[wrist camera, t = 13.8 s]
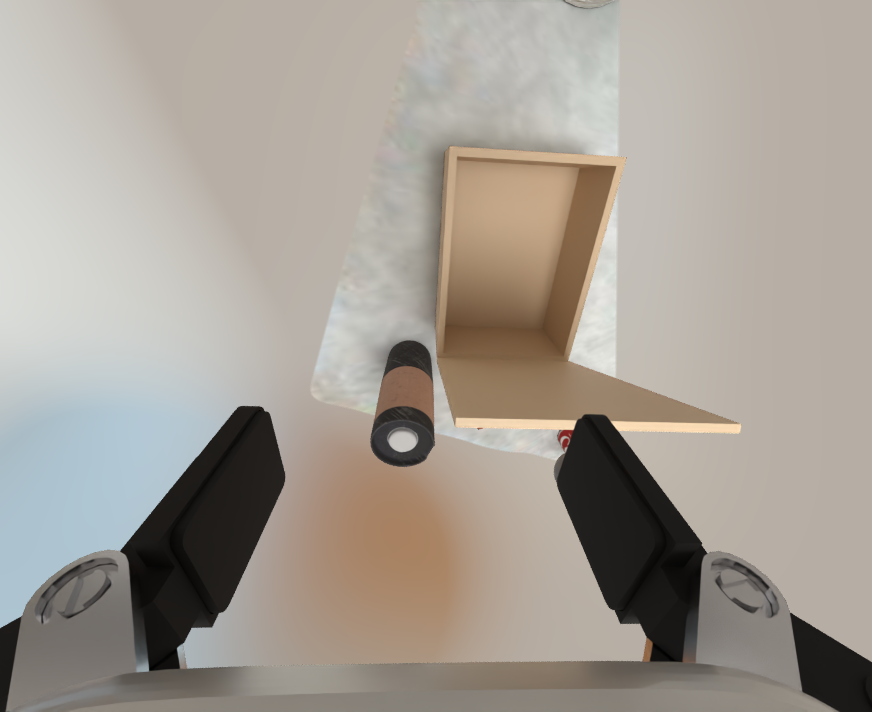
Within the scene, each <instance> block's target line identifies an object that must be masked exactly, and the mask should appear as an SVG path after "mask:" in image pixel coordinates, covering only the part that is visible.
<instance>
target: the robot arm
mask: <svg viewBox="0 0 872 712" xmlns="http://www.w3.org/2000/svg"><path fill="white" fill-rule="evenodd" d="M565 1H566V2H568V3H570V4H572V5H574V6H577V7H583V8H594V7H600V6H603V5H605V4H608V3H611V2H612V1H614V0H565ZM284 482H285V472H284V468H283V464H282V460H281V456H280V452H279V448H278V444H277V440H276V436H275V432H274V429H273V424H272V420H271V416H270V414H269V412H265V411H264V409H263V408H262V407H259V406H240V407H238V408H237V409H236V410H235V411H234V413H233V414H232V415H231V416H230V418H229V419H228V420H227V421H226V423H225V424H224V425H223V426H222V427H221V429H220V430H219V431H218V432H217V434H216V435H215V436H214V437H213V438H212V440H211V441H210V442H209V443H208V445H207V446H206V447H205V448H204V450H203V451H202V452H201V453H200V455H199V456H198V457H197V458H196V459H195V460H194V461H193V462H192V463H191V465H190V466H189V467H188V468H187V470H186V471H185V472H184V473H183V475H182V476H181V477H180V478H179V479H178V481H177V482H176V483H175V484H174V485H173V487H172V488H171V489H170V490H169V492H168V493H167V494H166V495H165V497H164V498H163V499H162V500H161V502H160V503H159V504H158V505H157V506H156V508H155V509H154V510H153V511H152V512H151V514H150V515H149V516H148V517H147V519H146V520H145V521H144V522H143V524H142V525H141V526H140V527H139V529H138V530H137V531H136V532H135V533H134V535H133V536H132V537H131V538H130V540H129V541H128V542H127V543H126V544H125V546H124V547H123V548H122V549H121V551H115V550H105V551H99V552H95V553H92V554H90V555H87V556H84V557H82V558H79V559H78V560H76V561H74V562H72V563H70V564H69V565H67V566H65V567H64V568H62V569H61V570H60V571H58V572H57V573H56V574H54V575H53V576H51V577H50V578H49V579H48V580H47V581H46V582H45V583H44V584H43V585H42V586H41V587H40V588H39V589H38V590H37V591H36V592H35V593H34V595H33V596H32V597H31V599H30V600H29V602H28V603H27V604H26V607H25V610H24V612H23V615H22V616H21V617H20V618H18V619H16V620H14V621H12V622H10V623H9V624H7V625H5V626H3V627H1V628H0V712H872V662H871V661H869V660H867V659H866V658H864V657H862V656H861V655H859V654H857V653H856V652H854V651H852V650H851V649H849V648H847V647H846V646H844V645H843V644H841V643H839V642H838V641H836V640H834V639H833V638H831V637H829V636H827V635H826V634H825V633H823V632H821V631H820V630H818V629H816V628H815V627H813V626H811V625H810V624H808V623H806V622H805V621H803V620H801V619H800V618H798V617H797V616H795V615H793V614H792V613H790V611H789V608H788V605H787V602H786V600H785V598H784V597H783V595H782V594H781V592H780V591H779V589H778V588H777V587H776V586H775V585H774V584H773V583H772V582H771V580H770V579H769V578H768V577H767V576H766V575H764V574H763V573H762V572H761V571H759V570H758V569H757V568H756V567H754V566H753V565H751V564H750V563H748V562H746V561H745V560H743V559H741V558H739V557H737V556H734V555H732V554H729V553H724V552H720V551H716V552H709V553H707V552H706V551H705V549H704V548H703V547H702V542H701V541H700V540H699V538H698V537H697V536H696V534H695V533H694V532H693V530H692V529H691V528H690V526H689V525H688V524H687V522H686V521H685V520H684V518H683V517H682V516H681V514H680V513H679V512H678V511H677V509H676V508H675V507H674V505H673V504H672V502H671V501H670V500H669V498H668V497H667V496H666V494H665V493H664V492H663V491H662V489H661V488H660V486H659V485H658V484H657V482H656V481H655V480H654V479H653V477H652V476H651V474H650V473H649V472H648V471H647V469H646V468H645V466H644V465H643V464H642V462H641V461H640V460H639V458H638V457H637V456H636V455H635V453H634V452H633V450H632V449H631V448H630V447H629V445H628V444H627V443H626V441H625V440H624V438H623V437H622V436H621V435H620V433H619V432H618V430H617V429H616V428H615V426H614V425H613V424H612V422H611V421H610V420H609V418H608V417H607V416H606V415H603V414H584V415H583V416H582V418H581V419H578V420H577V421H576V424H575V427H574V430H573V433H572V436H571V439H570V442H569V445H568V448H567V451H566V454H565V456H564V459H563V462H562V465H561V468H560V471H559V474H558V477H557V486H558V490H559V492H560V494H561V497H562V500H563V502H564V504H565V507H566V509H567V511H568V514H569V516H570V518H571V520H572V523H573V526H574V528H575V530H576V533H577V535H578V537H579V540H580V542H581V545H582V547H583V549H584V552H585V554H586V556H587V559H588V561H589V563H590V566H591V568H592V571H593V573H594V575H595V578H596V580H597V582H598V585H599V587H600V590H601V592H602V594H603V597H604V599H605V601H606V603H607V605H608V607H609V608H610V609H612V610H615V612H616V615H617V617H618V619H619V622H620V624H641V626H642V628H643V631H644V632H645V635H646V636H647V638H646V644H645V650H644V656H643V661H642V662H640V661H635V662H634V661H577V662H576V661H573V662H571V661H564V662H475V663H474V662H469V663H402V664H401V663H400V664H344V665H343V664H341V665H293V666H292V665H291V666H243V667H219V668H193V669H187V665H186V659H185V654H184V648H183V643H184V642H185V640H186V638H187V636H188V634H189V632H190V630H191V628H200V627H201V628H202V627H212V626H213V624H214V622H215V620H216V618H217V616H218V614H219V613H221V612H224V611H225V610H226V608H227V607H228V605H229V604H230V602H231V599H232V597H233V595H234V593H235V591H236V588H237V586H238V584H239V582H240V580H241V578H242V575H243V573H244V571H245V569H246V567H247V564H248V562H249V560H250V558H251V556H252V554H253V551H254V549H255V547H256V545H257V543H258V541H259V538H260V536H261V534H262V532H263V530H264V527H265V525H266V523H267V521H268V519H269V516H270V514H271V512H272V510H273V508H274V506H275V504H276V501H277V499H278V497H279V495H280V493H281V490H282V488H283V486H284Z"/></svg>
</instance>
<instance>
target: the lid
mask: <svg viewBox="0 0 872 712" xmlns="http://www.w3.org/2000/svg"><path fill="white" fill-rule="evenodd" d="M437 364H438V367H439V371H440V374H441V378H442V381H443V385H444V389H445V392H446V396H447V399H448V403H449V406H450V410H451V414H452V417H453V421H454V424H455V427H464V428H512V429H559V430H574V427H575V424H576V421H577V420H578V419H581V418H582V416H583V415H584V414H603V415H606V416H607V417H608V418H609V420H610V421H611V422H612V424H613V425H614V426H615V428H616V429H617V430H618V431H655V432H657V431H658V432H704V433H706V432H707V433H708V432H709V433H740V429H741V424H740V423H737V422H734V421H731V420H729V419H726V418H723V417H720V416H718V415H715V414H712V413H709V412H707V411H704V410H701V409H698V408H696V407H693V406H690V405H687V404H685V403H682V402H679V401H677V400H674V399H671V398H668V397H666V396H663V395H660V394H657V393H655V392H652V391H649V390H646V389H644V388H641V387H638V386H635V385H633V384H630V383H627V382H624V381H622V380H619V379H616V378H614V377H611V376H608V375H605V374H603V373H600V372H597V371H594V370H592V369H589V368H586V367H583V366H581V365H578V364H575V363H572V362H570V361H543V360H511V359H479V358H447V357H437ZM565 454H566V453H564V454H563V455H561V456H560V457H559V458H558V460H557V462H556V464H555V467H554V476H555V480H556V482H557V477H558V474H559V471H560V468H561V465H562V462H563V459H564V456H565Z"/></svg>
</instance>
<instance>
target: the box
mask: <svg viewBox="0 0 872 712" xmlns="http://www.w3.org/2000/svg"><path fill="white" fill-rule="evenodd" d="M626 159H627V158H626V157H613V156H598V155H582V154H566V153H550V152H534V151H518V150H503V149H487V148H471V147H455V146H449V148H448V149H447V150H446V151H445V156H444V174H443V193H442V211H441V229H440V248H439V266H438V285H437V303H436V321H435V333H436V350H437V357H447V358H479V359H511V360H543V361H568V359H569V356H570V352H571V349H572V346H573V342H574V339H575V335H576V332H577V328H578V325H579V321H580V318H581V314H582V311H583V307H584V304H585V301H586V297H587V294H588V290H589V287H590V283H591V280H592V276H593V273H594V269H595V266H596V262H597V259H598V255H599V252H600V249H601V245H602V242H603V238H604V235H605V231H606V228H607V224H608V221H609V217H610V214H611V210H612V207H613V204H614V200H615V197H616V193H617V190H618V186H619V183H620V179H621V176H622V172H623V169H624V165H625V162H626Z"/></svg>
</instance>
